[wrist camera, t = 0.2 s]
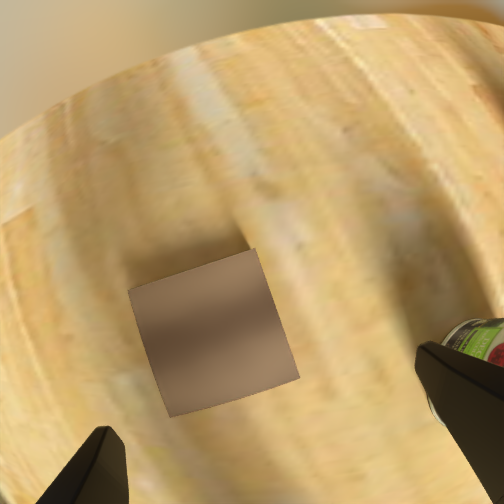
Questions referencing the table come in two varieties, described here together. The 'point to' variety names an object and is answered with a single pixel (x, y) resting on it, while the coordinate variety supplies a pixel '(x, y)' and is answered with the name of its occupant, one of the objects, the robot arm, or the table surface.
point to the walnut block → (213, 334)
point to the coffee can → (477, 343)
